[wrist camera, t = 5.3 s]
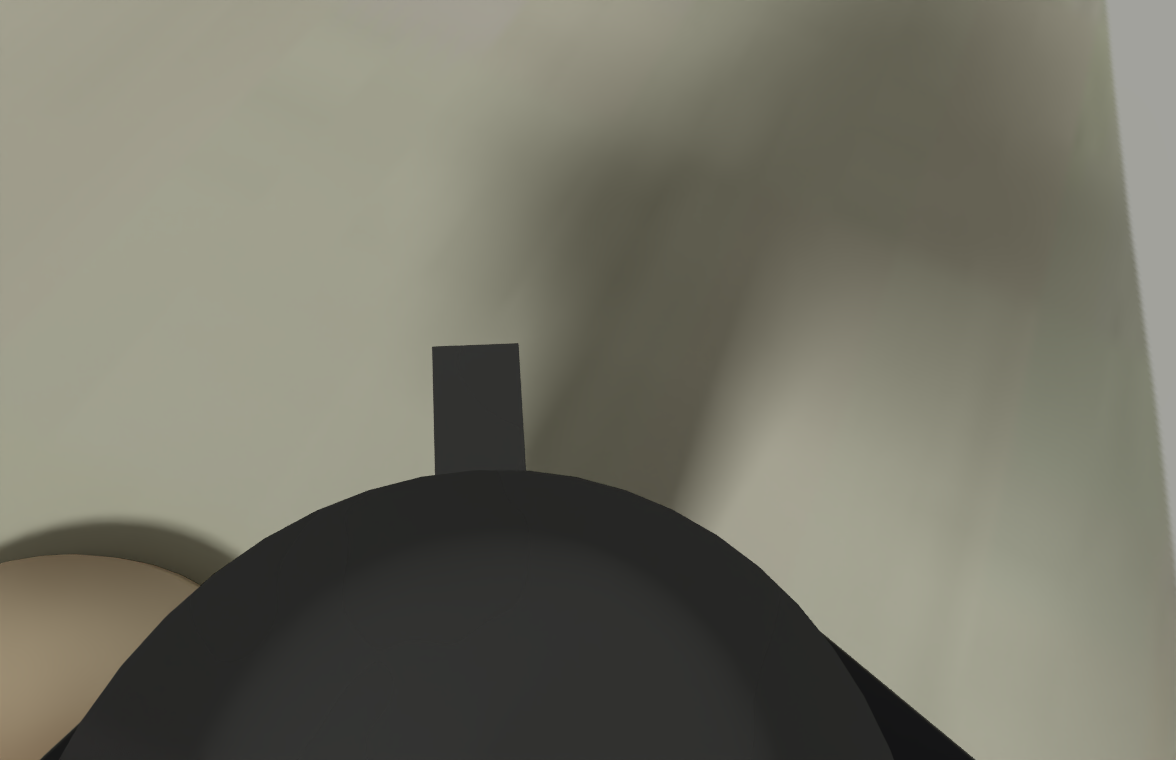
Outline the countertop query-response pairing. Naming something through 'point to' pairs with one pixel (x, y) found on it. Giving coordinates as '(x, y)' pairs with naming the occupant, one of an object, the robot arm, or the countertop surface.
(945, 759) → the robot arm
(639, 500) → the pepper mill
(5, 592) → the smooth tan round disc
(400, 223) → the countertop surface
